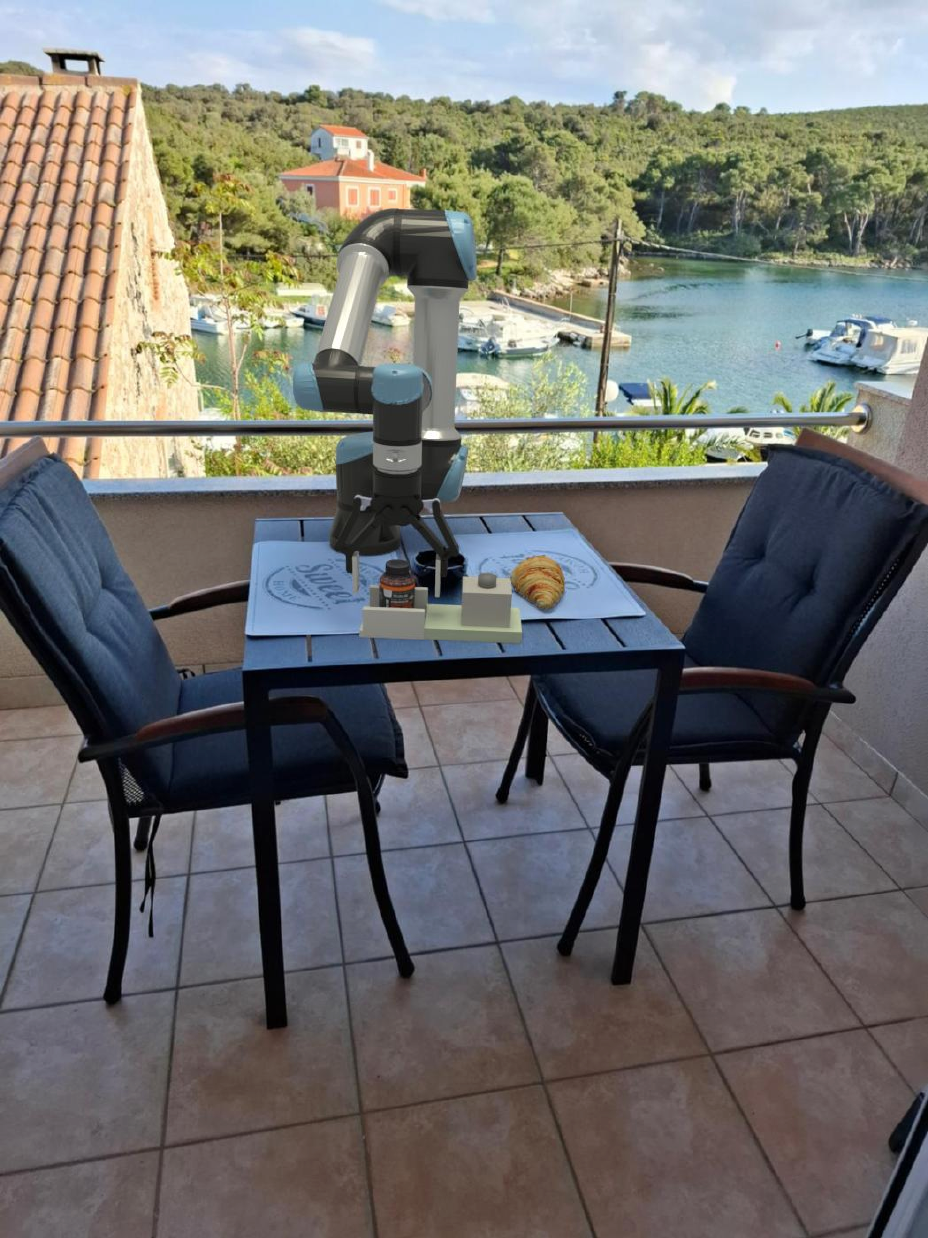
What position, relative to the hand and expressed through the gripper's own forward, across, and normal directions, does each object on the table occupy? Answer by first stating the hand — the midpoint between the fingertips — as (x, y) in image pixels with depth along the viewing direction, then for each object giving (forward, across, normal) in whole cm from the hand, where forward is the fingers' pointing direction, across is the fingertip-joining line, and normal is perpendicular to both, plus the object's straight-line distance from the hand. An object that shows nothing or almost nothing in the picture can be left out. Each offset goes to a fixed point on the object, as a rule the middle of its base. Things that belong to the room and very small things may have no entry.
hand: (396, 592), depth 139 cm
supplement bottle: (+6, 0, -1) cm, 6 cm away
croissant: (+7, +25, +17) cm, 31 cm away
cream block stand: (+6, +8, -1) cm, 10 cm away
